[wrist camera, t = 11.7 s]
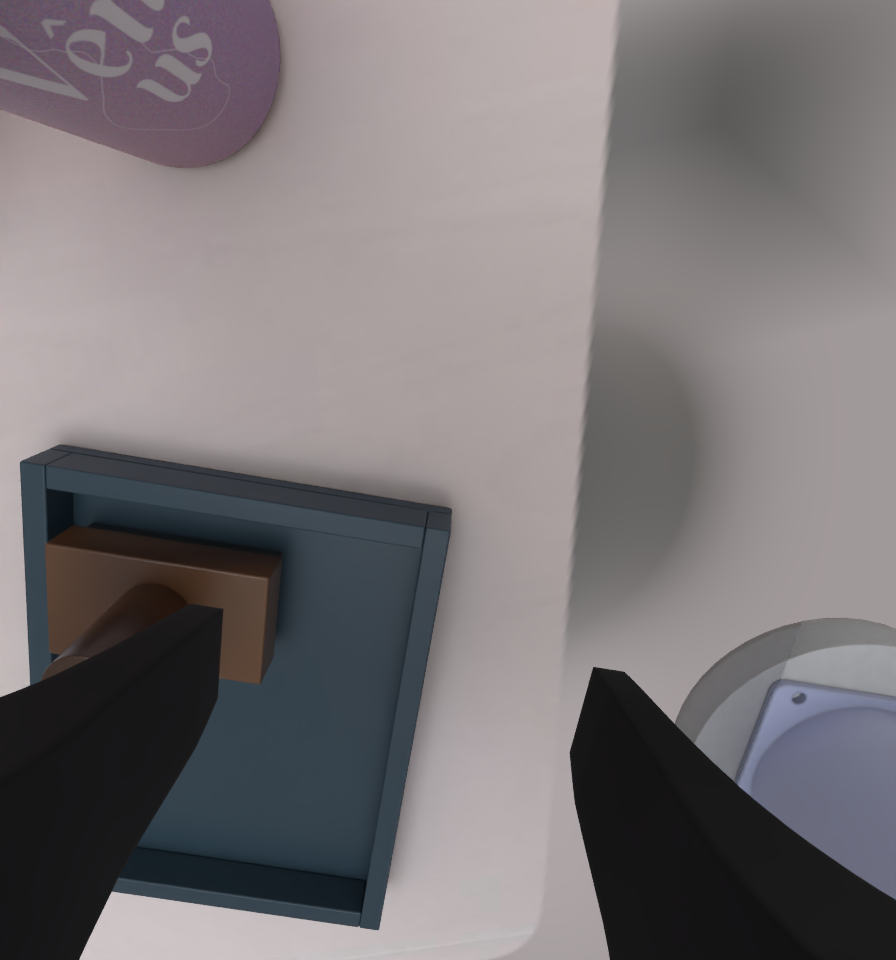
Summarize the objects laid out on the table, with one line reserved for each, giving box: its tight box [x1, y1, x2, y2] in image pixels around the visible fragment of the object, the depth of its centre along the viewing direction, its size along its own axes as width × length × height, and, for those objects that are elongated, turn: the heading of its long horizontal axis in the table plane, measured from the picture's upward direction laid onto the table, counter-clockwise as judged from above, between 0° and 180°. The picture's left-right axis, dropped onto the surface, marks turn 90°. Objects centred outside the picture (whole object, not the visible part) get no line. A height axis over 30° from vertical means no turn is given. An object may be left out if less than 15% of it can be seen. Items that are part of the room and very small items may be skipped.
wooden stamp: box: [41, 523, 282, 684], centre depth 20 cm, size 7×4×6 cm, turn 81°
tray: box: [20, 445, 452, 930], centre depth 24 cm, size 14×18×2 cm
